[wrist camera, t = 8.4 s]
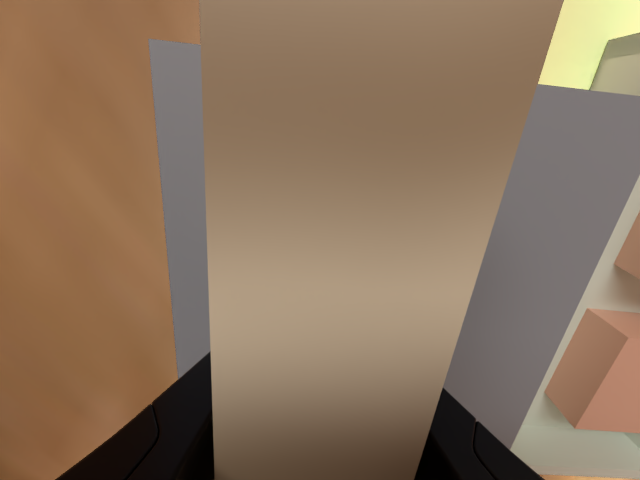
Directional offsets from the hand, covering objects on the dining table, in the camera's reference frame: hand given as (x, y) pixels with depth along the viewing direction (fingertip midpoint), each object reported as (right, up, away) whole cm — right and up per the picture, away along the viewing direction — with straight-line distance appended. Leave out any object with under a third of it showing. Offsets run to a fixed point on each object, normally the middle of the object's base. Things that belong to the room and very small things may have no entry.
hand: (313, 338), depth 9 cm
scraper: (0, 0, +1) cm, 1 cm away
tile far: (+14, -4, +4) cm, 15 cm away
